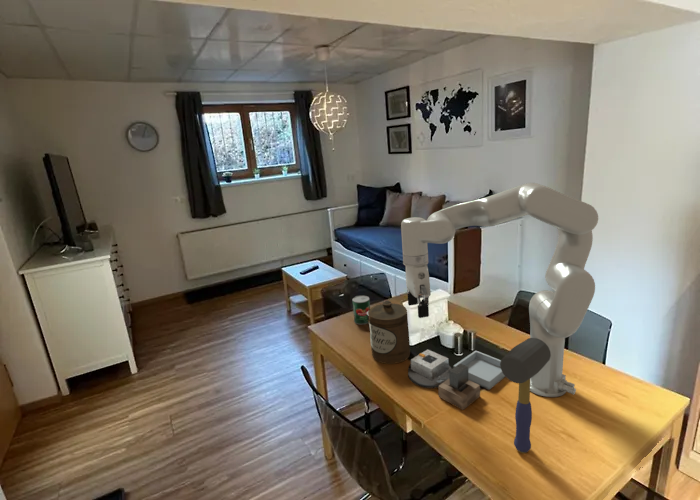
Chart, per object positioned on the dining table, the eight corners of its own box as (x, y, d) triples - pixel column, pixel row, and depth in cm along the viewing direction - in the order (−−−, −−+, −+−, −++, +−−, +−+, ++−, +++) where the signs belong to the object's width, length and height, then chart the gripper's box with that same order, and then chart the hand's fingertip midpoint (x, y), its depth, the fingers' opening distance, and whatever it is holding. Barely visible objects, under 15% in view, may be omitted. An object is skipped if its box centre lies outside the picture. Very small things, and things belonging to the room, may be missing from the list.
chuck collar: (448, 368, 133) (448, 357, 132) (431, 380, 128) (431, 368, 127) (428, 359, 140) (427, 348, 139) (411, 369, 135) (410, 358, 134)
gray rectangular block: (460, 390, 125) (460, 363, 122) (468, 394, 123) (468, 366, 120) (449, 398, 122) (449, 370, 119) (457, 402, 119) (457, 374, 117)
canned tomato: (361, 326, 175) (360, 303, 172) (350, 321, 181) (348, 299, 178) (374, 320, 180) (373, 298, 177) (363, 315, 186) (361, 294, 183)
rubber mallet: (520, 430, 106) (523, 331, 99) (548, 444, 101) (554, 341, 93) (495, 455, 99) (497, 350, 91) (524, 472, 93) (528, 362, 85)
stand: (479, 396, 122) (480, 385, 120) (463, 410, 116) (462, 398, 115) (455, 384, 128) (455, 373, 127) (438, 396, 123) (438, 386, 122)
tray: (510, 372, 132) (511, 364, 132) (489, 389, 124) (489, 381, 123) (475, 357, 143) (475, 350, 142) (453, 373, 134) (453, 365, 134)
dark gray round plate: (461, 374, 133) (461, 369, 133) (433, 394, 124) (433, 388, 124) (427, 358, 145) (426, 353, 144) (399, 375, 136) (399, 370, 135)
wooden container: (363, 354, 151) (359, 302, 145) (389, 340, 160) (386, 290, 155) (392, 369, 140) (388, 313, 134) (418, 352, 149) (415, 299, 144)
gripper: (438, 265, 109) (440, 320, 114) (417, 250, 126) (420, 298, 130) (412, 268, 108) (415, 324, 113) (395, 253, 125) (398, 302, 129)
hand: (418, 310), depth 122 cm, fingers open, 9 cm apart
